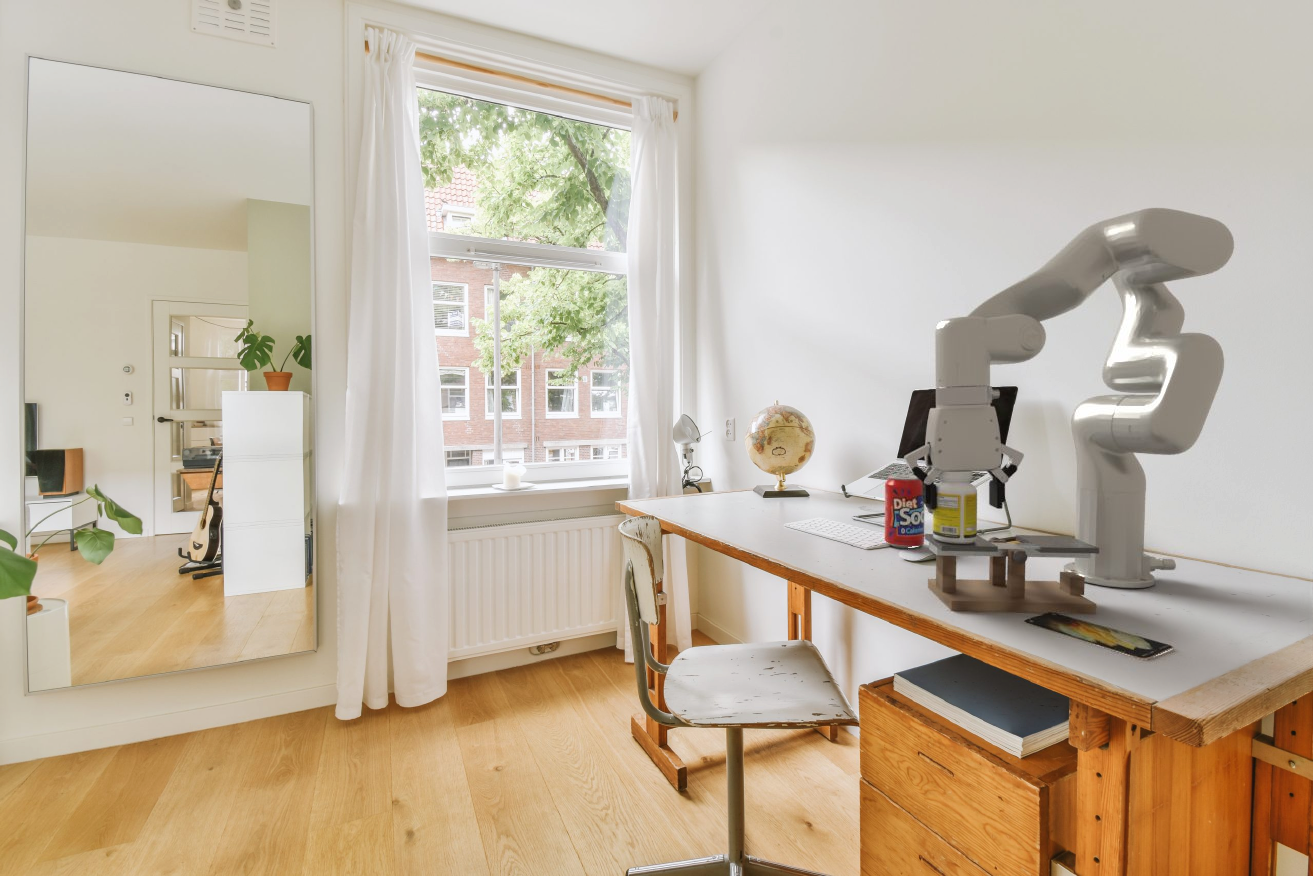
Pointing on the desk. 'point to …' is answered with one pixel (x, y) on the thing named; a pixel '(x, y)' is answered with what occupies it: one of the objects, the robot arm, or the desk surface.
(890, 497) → the soda can
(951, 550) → the beam
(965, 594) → the stand
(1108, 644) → the smartphone
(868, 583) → the desk surface
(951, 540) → the pill bottle
